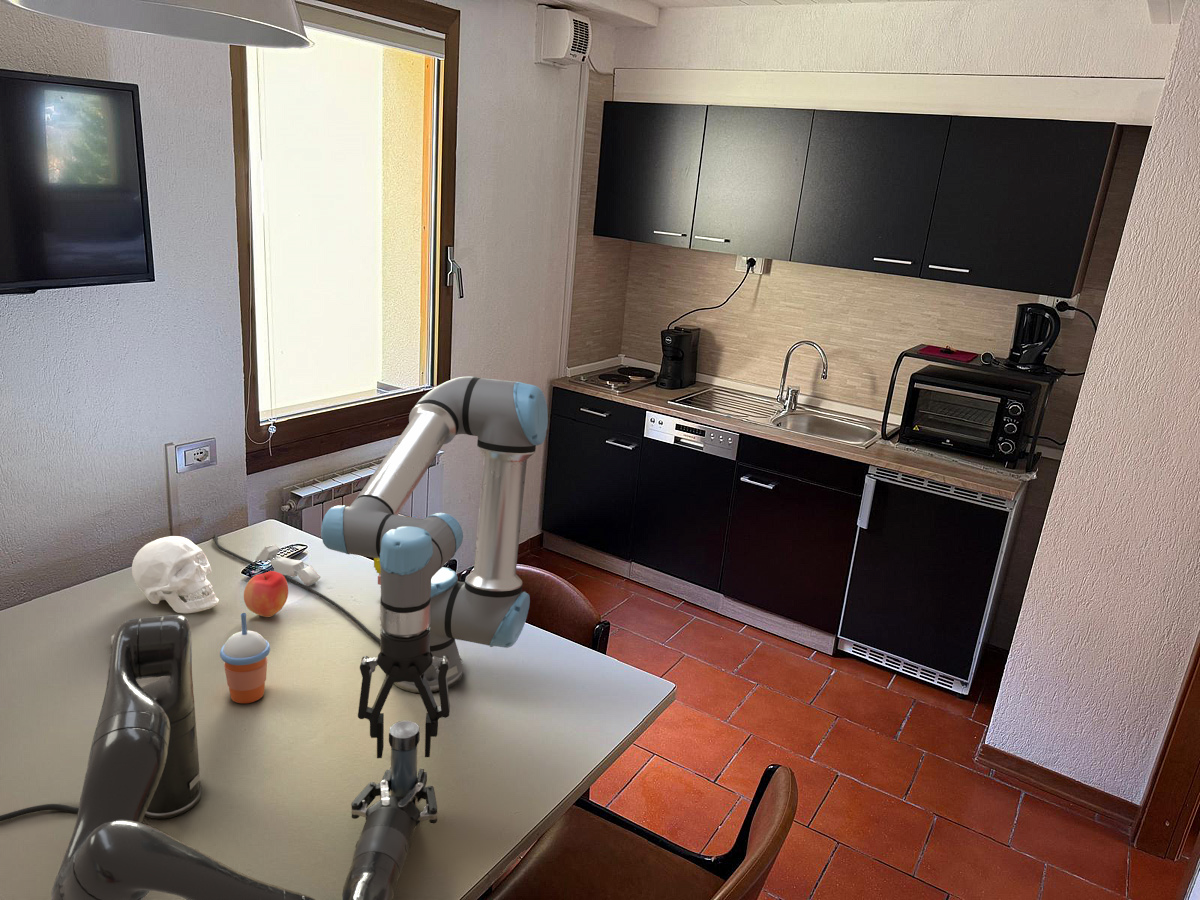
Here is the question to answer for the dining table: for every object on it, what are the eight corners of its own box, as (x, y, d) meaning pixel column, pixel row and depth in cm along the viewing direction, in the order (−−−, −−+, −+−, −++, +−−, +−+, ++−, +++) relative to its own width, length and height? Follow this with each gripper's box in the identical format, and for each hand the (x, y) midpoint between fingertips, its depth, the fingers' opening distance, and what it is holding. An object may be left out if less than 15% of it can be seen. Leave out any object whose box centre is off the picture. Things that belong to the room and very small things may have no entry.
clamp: (253, 565, 223) (254, 542, 221) (265, 560, 226) (266, 537, 224) (309, 593, 215) (310, 569, 213) (320, 588, 218) (321, 564, 216)
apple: (273, 600, 207) (272, 562, 204) (297, 613, 202) (296, 575, 199) (237, 614, 200) (234, 575, 197) (261, 628, 194) (259, 588, 191)
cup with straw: (255, 711, 165) (250, 629, 160) (212, 703, 167) (207, 621, 161) (281, 686, 174) (278, 607, 168) (240, 678, 175) (236, 599, 170)
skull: (197, 623, 194) (195, 558, 190) (119, 603, 200) (115, 540, 196) (237, 600, 207) (236, 539, 203) (163, 582, 212) (160, 522, 208)
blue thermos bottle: (389, 807, 143) (389, 726, 139) (414, 803, 145) (415, 723, 140) (391, 825, 140) (392, 742, 135) (417, 821, 141) (419, 738, 136)
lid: (396, 754, 135) (396, 742, 134) (383, 738, 138) (383, 726, 138) (424, 744, 138) (424, 732, 137) (411, 728, 141) (411, 716, 141)
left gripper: (334, 865, 128) (364, 788, 144) (430, 871, 128) (449, 793, 144) (334, 824, 125) (364, 750, 142) (431, 830, 126) (450, 755, 142)
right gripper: (470, 614, 137) (466, 737, 144) (343, 614, 134) (344, 738, 141) (469, 638, 130) (465, 766, 137) (335, 638, 127) (337, 768, 134)
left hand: (407, 772), depth 143 cm, fingers closed on blue thermos bottle, 4 cm apart
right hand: (404, 752), depth 139 cm, fingers open, 7 cm apart
